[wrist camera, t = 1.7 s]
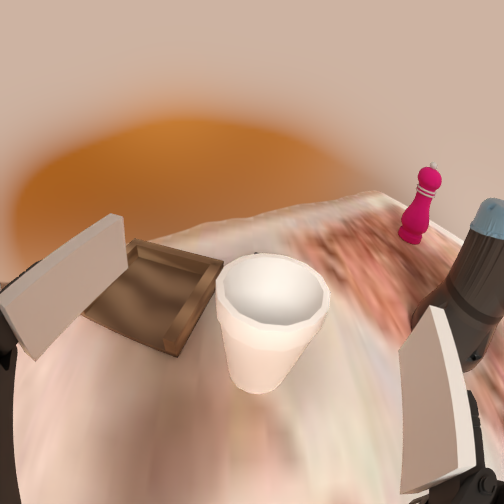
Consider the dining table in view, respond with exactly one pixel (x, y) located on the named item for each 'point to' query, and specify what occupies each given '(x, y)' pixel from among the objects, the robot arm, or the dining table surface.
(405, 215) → the pepper mill
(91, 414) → the dining table surface
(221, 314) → the foam cup
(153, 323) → the end holder
